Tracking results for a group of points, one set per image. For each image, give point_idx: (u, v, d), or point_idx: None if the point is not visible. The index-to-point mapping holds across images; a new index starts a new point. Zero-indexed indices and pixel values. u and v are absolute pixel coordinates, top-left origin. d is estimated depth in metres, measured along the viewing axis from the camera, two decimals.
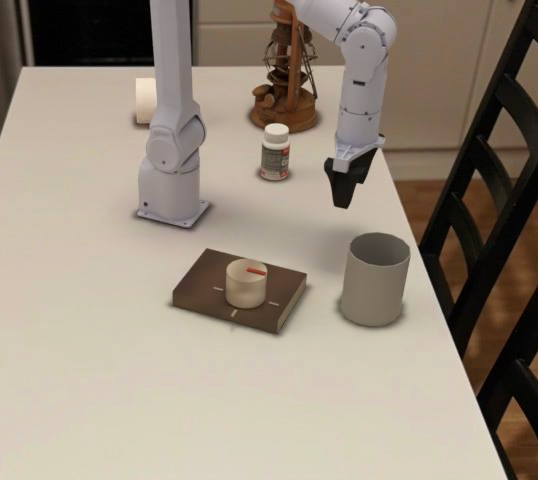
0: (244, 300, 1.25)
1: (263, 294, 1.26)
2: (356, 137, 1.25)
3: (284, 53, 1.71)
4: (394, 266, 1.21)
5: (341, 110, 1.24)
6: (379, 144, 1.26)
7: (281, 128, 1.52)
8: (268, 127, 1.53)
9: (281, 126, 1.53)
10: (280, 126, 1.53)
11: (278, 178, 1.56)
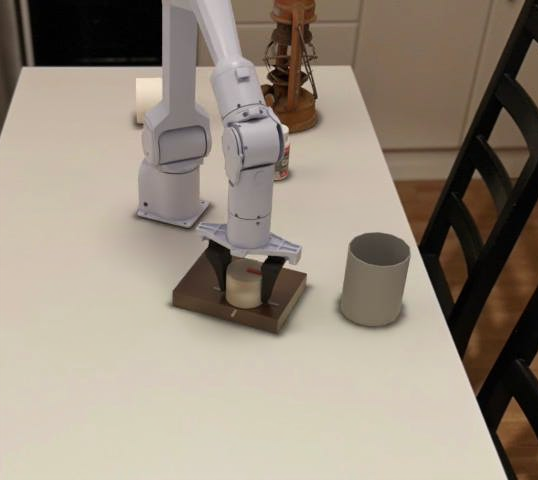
0: (244, 300, 1.25)
1: None
2: None
3: (284, 53, 1.71)
4: (394, 266, 1.21)
5: None
6: (231, 249, 1.20)
7: None
8: None
9: None
10: None
11: (278, 178, 1.56)
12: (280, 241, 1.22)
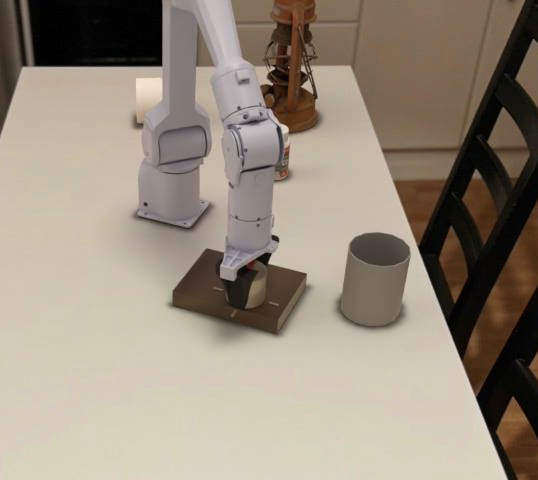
0: None
1: None
2: (245, 243, 1.19)
3: (284, 53, 1.71)
4: (394, 266, 1.21)
5: (229, 215, 1.18)
6: (270, 249, 1.20)
7: None
8: None
9: (281, 126, 1.53)
10: None
11: (278, 178, 1.56)
12: None
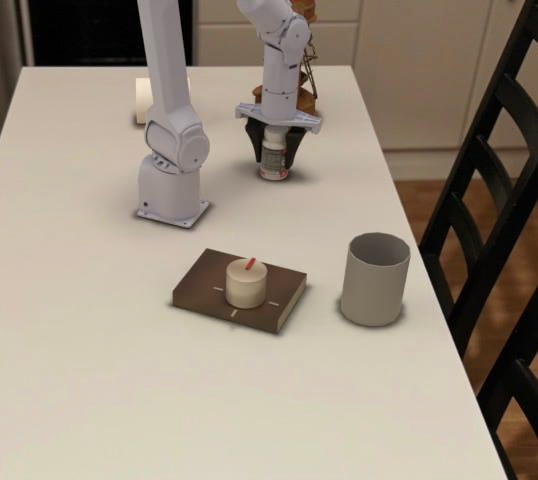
0: None
1: None
2: (295, 107, 1.49)
3: None
4: (394, 266, 1.21)
5: (286, 96, 1.46)
6: None
7: (281, 128, 1.52)
8: (268, 126, 1.53)
9: (281, 126, 1.53)
10: (280, 126, 1.53)
11: (278, 178, 1.56)
12: None
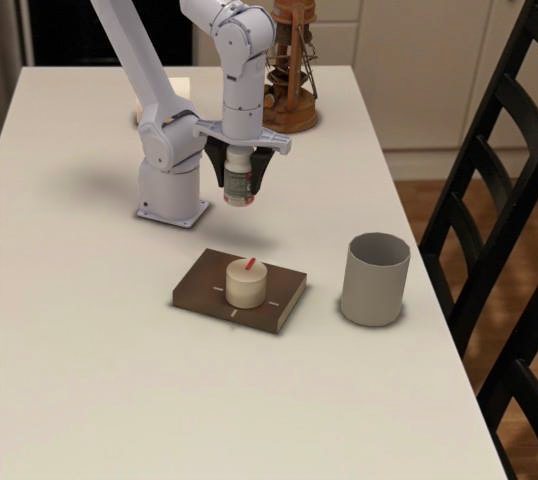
0: None
1: None
2: (261, 125, 1.30)
3: (284, 53, 1.71)
4: (394, 266, 1.21)
5: (249, 112, 1.26)
6: None
7: (245, 148, 1.33)
8: (231, 146, 1.33)
9: (245, 146, 1.33)
10: None
11: (243, 205, 1.37)
12: None
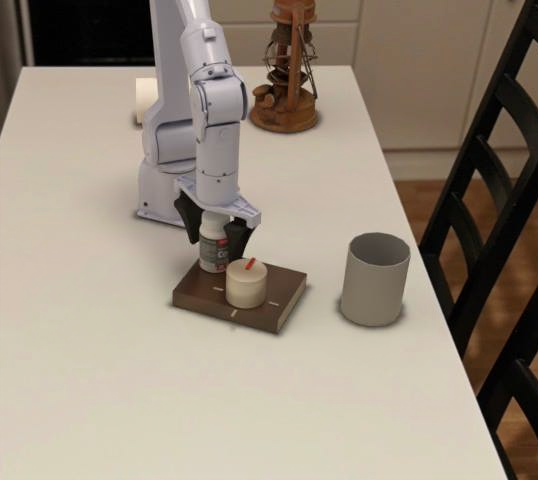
0: None
1: None
2: (235, 193, 1.24)
3: (284, 53, 1.71)
4: (394, 266, 1.21)
5: (217, 178, 1.21)
6: (238, 188, 1.28)
7: (221, 215, 1.28)
8: None
9: None
10: None
11: (214, 271, 1.32)
12: None
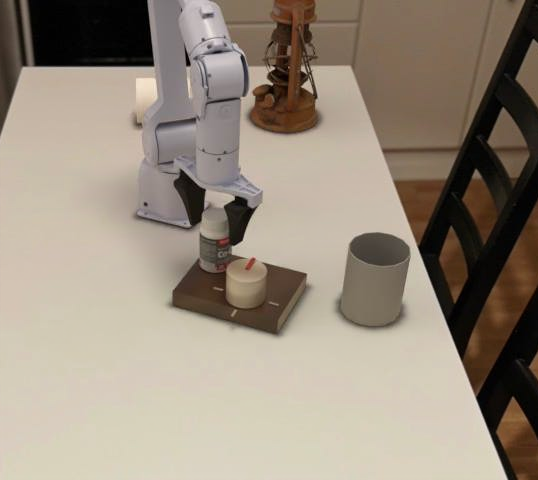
0: None
1: None
2: (236, 172, 1.22)
3: (284, 53, 1.71)
4: (394, 266, 1.21)
5: (217, 157, 1.19)
6: (239, 168, 1.25)
7: (221, 215, 1.28)
8: (208, 210, 1.29)
9: (223, 212, 1.29)
10: (222, 211, 1.29)
11: (214, 271, 1.32)
12: None
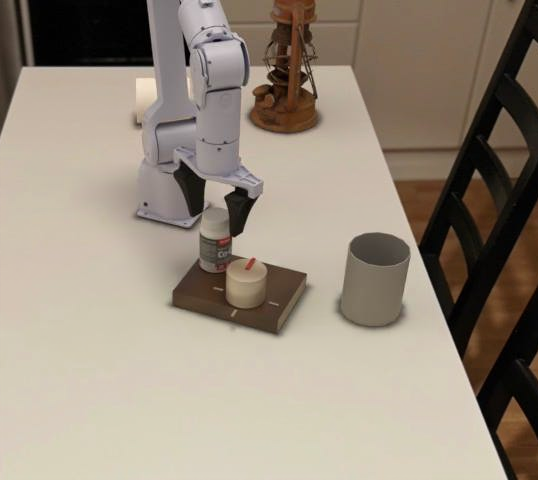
0: None
1: None
2: (236, 162, 1.21)
3: (284, 53, 1.71)
4: (394, 266, 1.21)
5: (217, 147, 1.18)
6: (239, 158, 1.24)
7: (221, 215, 1.28)
8: (208, 210, 1.29)
9: (223, 212, 1.29)
10: (222, 211, 1.29)
11: (214, 271, 1.32)
12: None
